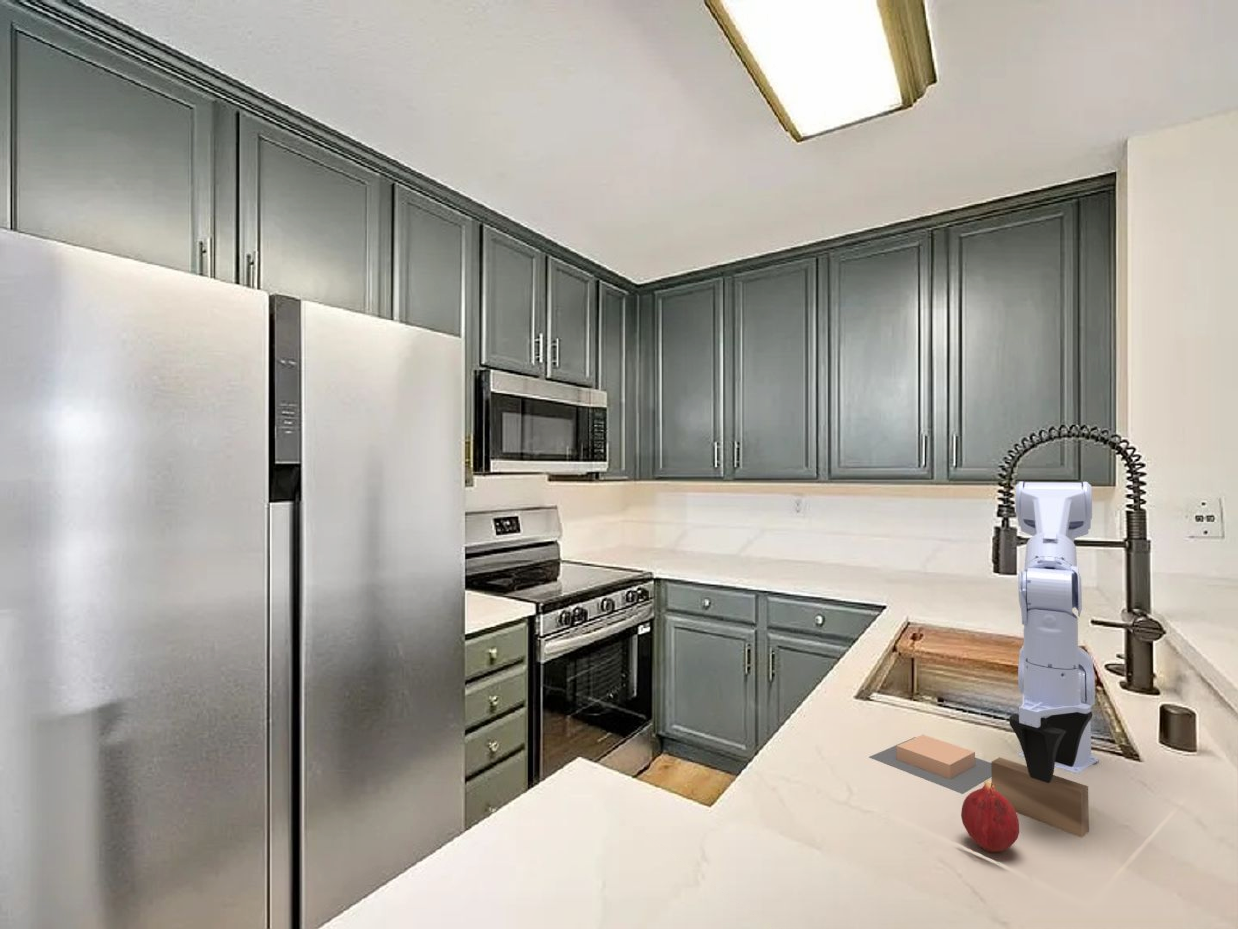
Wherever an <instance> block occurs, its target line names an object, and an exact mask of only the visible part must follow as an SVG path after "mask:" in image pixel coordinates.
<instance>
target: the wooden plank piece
mask: <svg viewBox="0 0 1238 929" xmlns="http://www.w3.org/2000/svg"><path fill="white" fill-rule="evenodd" d="M990 763H991V774H992V777H991V782H992V783H994V788H995V790H996V791H997V792H999V793H1000V794H1001V795H1003V796H1004V797H1005V798H1006V799H1007V800H1008V801H1009V802H1010V804H1011V805H1012V806H1013V808H1014V809H1015V811H1016V814H1019V815H1022V816H1024V817H1028V818H1030V819H1032V820H1034V821H1038V822H1041V824H1045V825H1048V826H1050V827H1053V828H1056V829H1059V830H1061V831H1063V832H1066V833H1067V834H1071V835H1073V836H1076V837H1078V838H1083V837H1084V836H1085V835H1086V834H1088V833H1089V832H1090V822H1089V821H1090V819H1089V817H1090V815H1089V814H1090V813H1089V812H1090V811H1089V808H1090V807H1089V786H1088V785H1086V784H1083V783H1080V782H1076V781H1073V780H1070V779H1067V778H1064V777H1061V776H1057V775H1054V774H1053V777H1052V780H1051V782H1050V783H1046V782H1043V781H1040V780H1037V779H1034V778H1031V777H1030V775H1029V772H1028V768H1027V765H1026V764H1025V765H1024V764H1022V763H1021V764H1020V763H1019V762H1015V761H1013V760H1009V759H1006V758H1003V757H998V758H995V759H993V760H992V761H991V762H990Z"/></svg>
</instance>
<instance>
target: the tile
mask: <svg viewBox="0 0 1238 929" xmlns="http://www.w3.org/2000/svg"><path fill="white" fill-rule="evenodd" d="M913 738H914V737H913ZM910 739H911V740H909V739H908V740H909V741H907V740H906V741H907V742H905V741H903V742H904V743H902V742H901V743H902V744H900V743H899V744H900V745H898V744H897V745H898V746H897V759H898V760H901V761H903V762H906V763H909V764H911V765H914V766H917V767H919V768H922V769H925V770H927V771H930V772H933V773H935V774H938V775H940V776H943V777H946V778H948V779H951V778H953V777H955V776H956V775H958V774H960V773H962V772H964V771H966V770H967V769H969V768H971V767H973V766H975V758H976V751H974V750H971V749H968V748H965V747H962V746H960V745H959V746H958V745H956V744H952V743H949V742H946V741H944V740H940V739H938V738H934V737H931V736H928V735H925V734H921V735H919V736H916V738H914V739H912V738H910Z"/></svg>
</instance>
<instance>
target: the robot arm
mask: <svg viewBox="0 0 1238 929" xmlns="http://www.w3.org/2000/svg"><path fill="white" fill-rule="evenodd" d="M1092 491H1093V490H1092V485H1091V484H1090V483H1089V482H1088V481H1083V482H1046V481H1045V482H1044V481H1043V482H1031V481H1030V482H1024V481H1018V483H1017V484H1016V485H1015V499H1014V500H1015V502H1014V503H1015V516H1016V517H1017V522H1018V526H1019V528H1020V531H1021V532H1022V533H1025V534H1026V535H1029V536H1031V537H1030V538H1028V540H1027V542H1026V545H1025V555H1024V556H1025V559H1024V570H1023V571H1022V570H1020V572H1019V574H1018V602H1019V607H1020V612H1021V624H1022V625H1023V645H1021V648H1020V649H1019V658H1018V668H1017V669H1018V670H1017V678H1018V679H1017V684H1018V691H1019V692H1020V694H1021V695H1022V696H1021V697H1022V704H1021V706H1019V707H1018V713H1014V714H1012V715H1010V716H1008V717H1009V718H1008V723H1009V726H1010V727H1011V729H1012V730H1013V732H1014V734H1015V735H1016V738H1017V740H1018V742H1019V744H1020V747H1021V749H1022V751H1021V752H1019V753H1018V755H1019V756H1020V757H1024V760H1025V766H1027V768H1028V772H1029V775H1030V777H1031V778H1034V779H1037V780H1040V781H1043V782H1046V783H1050V782H1051V780H1052V777H1053V775H1054V771H1055V768H1058V769H1061V770H1064V771H1066V772H1067V771H1068V772H1071V773H1074V774H1078V775H1079V774H1080V773H1082V772H1083V771H1085V770H1086V769H1087V768H1089V767H1091V765H1095V764H1096V763H1097V762H1098V761H1097V760H1100V759H1099V757H1098V756H1095V755H1092V729H1091V728H1092V725H1091V720H1092V718H1093V711H1092V709H1091V708H1092V707H1093V706H1095V704H1096V690H1095V689H1096V684H1095V683H1096V682H1095V681H1096V680H1095V669H1094V660H1093V658H1092V656H1091V654H1090V653H1088V652H1087V651H1086V650H1084V649H1083V648H1081V647H1080V646H1079V621H1078V620H1079V619H1078V618H1079V617H1080V616H1081V612H1082V610H1083V605H1082V604H1083V601H1082V596H1083V595H1082V590H1083V589H1082V577H1081V575H1080V574H1081V573H1080V571H1079V567H1078V563H1077V561H1078V560H1077V558H1078V557H1077V546H1076V544H1075V540H1076V539H1077V538H1080V537H1084V536H1087V535H1089V530H1090V529H1091V526H1092V524H1091V523H1092V518H1093V495H1092V494H1093V493H1092ZM1074 608H1075V609H1076V610H1077V614H1078V616H1077V615H1076V614H1075V613H1074V612H1073V609H1074Z"/></svg>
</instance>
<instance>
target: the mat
mask: <svg viewBox="0 0 1238 929" xmlns="http://www.w3.org/2000/svg"><path fill="white" fill-rule="evenodd" d="M916 737H917V736H916ZM916 737H915V736H914V737H912V738H910V739H907V740H906V741H902V742H900V743H897V744H896V745H895V744H894V746H891V747H889V748H887V749H884V750H882V751H879V752H876V753H875V754H871V755H870V756H868V758H870V759H872V760H874V761H877V762H880V763H882V764H885V765H887V766H890V767H892V768H895V769H897V770H900V771H903V772H906V773H908V774H911V775H913V776H916V777H919V778H920V779H922V780H923V779H924V780H926V781H929V782H931V783H933V784H937V785H939V786H941V787H943V788H947V789H949V790H951V791H953V792H956V793H959V794H961V795H963V794H965V793H967V792H968V791H970V790H972V789H974V788H975V787H977V786H979V785H980V784H982V783H984V782H986V781H988V780H989V779H992V774H991V762H989V761H986V760H983V759H980V758H978V757H975V766H973V767H971V768H969V769H967V770H966V771H964V772H962V773H960V774H958V775H956V776H955V777H953V778H951V779H948V778H946V777H943V776H940V775H938V774H935V773H933V772H930V771H927V770H925V769H922V768H919V767H917V766H914V765H911V764H909V763H906V762H903V761H901V760H898V759H897V746H898V745H900V744H902V743H904V742H907V741H909V740H911V739H914V738H916Z"/></svg>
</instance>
